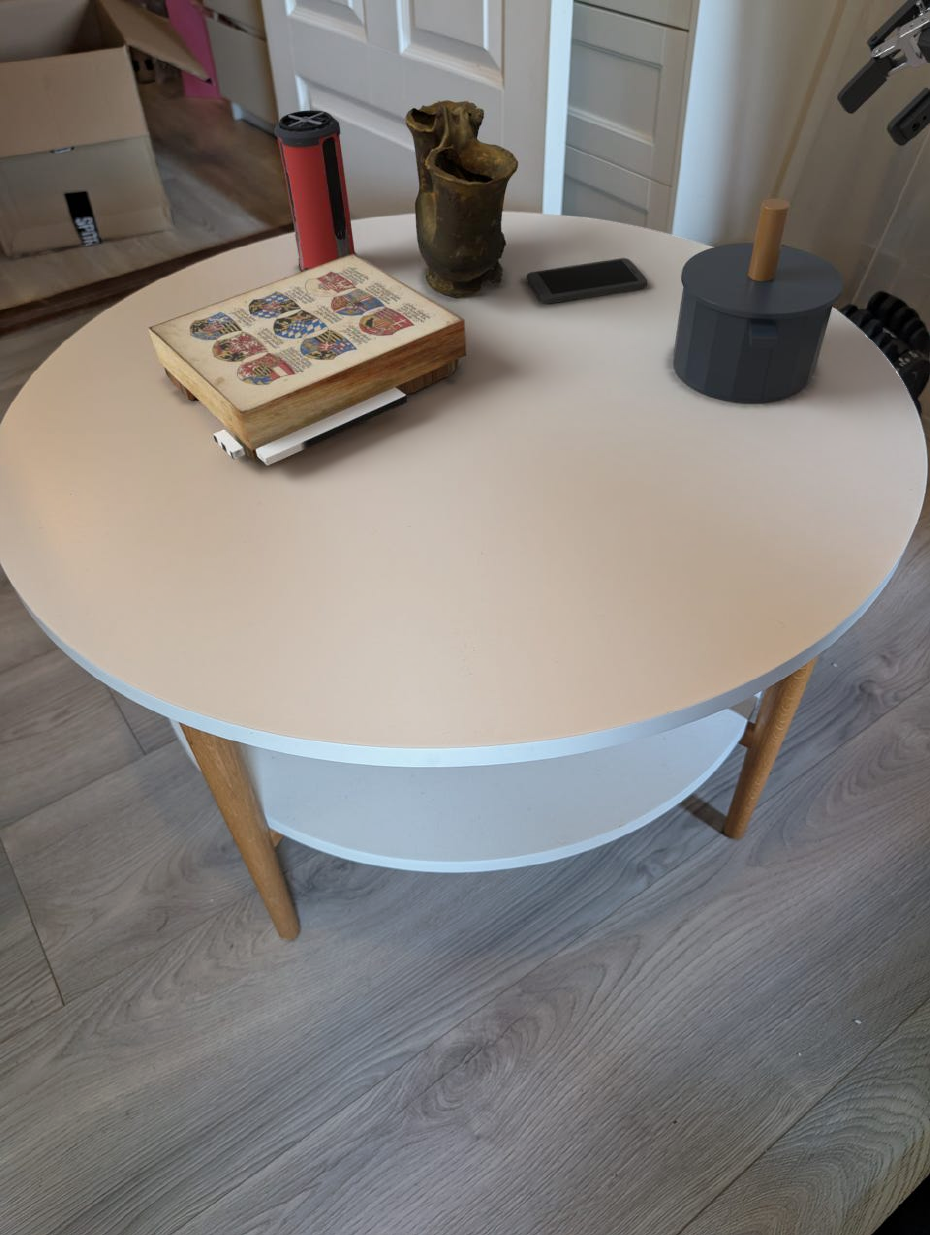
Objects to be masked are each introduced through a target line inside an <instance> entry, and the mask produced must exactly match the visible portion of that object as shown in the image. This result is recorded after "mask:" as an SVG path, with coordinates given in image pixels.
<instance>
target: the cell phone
mask: <svg viewBox="0 0 930 1235" xmlns="http://www.w3.org/2000/svg"><path fill="white" fill-rule="evenodd" d="M525 278H526V282H527V284H528V285H529V286H530V288H531V290H532V291H533V293H534V295H535V296H536V297H537V298H538V300H539V302H541V303H542V304H552V303H559V302H566V301H571V300H578V299H579V300H580V299H585V298H591V297H598V296H604V295H610V294H616V293H622V292H628V291H634V290H640V289H645V288H647V286H648V279H647V277H646V276H645V275H644V274H643V272H641V271H640V269H639V268H638V267H637V266H636V265H635V264H634V263H633V261H631V259H629V258H627V257H621V258H614V259H606V260H602V261H594V262H589V263H581V264H575V265H567V266H562V267H556V268H549V269H543V270H537V271H530V272H528V273H527V274H526V276H525Z"/></svg>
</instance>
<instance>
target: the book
mask: <svg viewBox="0 0 930 1235" xmlns="http://www.w3.org/2000/svg"><path fill="white" fill-rule="evenodd" d="M147 330H148V332H149V334H150V338H151V341H152V343H153V346H154V349H155V352H156V355H157V357H158V361H159V364H160V365H162V366H163V369H164V372H165V375H166V376H167V377H168V379H169V380H170V381H171V383H172V384H173V385H174V386H175V387H176V388H177V389H178V390H179V391H180V392H181V393H182V394H183V396H184V397H185V398H186V399H187V400H189V401H195V399H197V400H198V401H199V402H200V403H201V404H202V405H203V406H204V407H205V408H206V409H207V410H209V411H210V412H211V413H212V414H213V415H214V416H215V418H217V419H218V421H220V422H221V423H222V424H223V425H224V426H225V427H227V429H228V430H229V431H231V432H232V433H233V434H234V437H233V436H232V435H231V434H229V432H228V431H227V430H225V429H222V430H220V431H217V432H214V433H213V435H212V436H213V439H214V441H215V443H216V444H217V445H218V446H220V447H221V449H223V450H224V452H225V453H226V454H228V455H229V456H230V457H231V459H233V460H236V459H239V458H241V457H244V456H245V455H246V456H247V457H249V458H250V459H251V460H252V461H258V460H261V462H263V463H264V464H265V465H266V466H270V465H272V464H274V463H277V462H279V461H282V460H284V459H285V458H287V457H290V456H292V455H295V454H297V453H299V452H301V451H303V450H305V449H308V448H310V447H311V446H315V445H316V444H319V443H321V442H323V441H326V440H327V439H330V438H332V437H334V436H336V435H338V434H341V433H342V432H345V431H347V430H349V429H351V428H354V427H356V426H358V425H361V424H362V423H365V422H367V421H370V420H371V419H373V418H375V417H378V416H380V415H382V414H384V413H386V412H389V411H391V410H393V409H395V408H397V407H400V406H402V405H404V404H407V403H408V399H407V398H408V397H407V394H412V393H415V392H418V391H420V390H421V389H423V388H425V387H428V386H430V385H432V384H434V383H437V382H438V380H441V379H442V378H445V377H450V376H451V375H452V374H453V373H454V371H455V370H456V369H458V368H459V360H460V359H461V358H464V357H466V356H467V347H466V346H467V344H466V325H465V318H463V317H462V316H460V315H458V314H456V313H454V311H452V310H450V309H448V308H446V307H444V306H443V305H441V303H438V302H436V301H435V300H433V299H431V298H429V297H427V296H426V295H425V294H423V293H421V292H420V291H418V290H416V289H414V288H413V287H411V286H410V285H408V284H406V283H404V282H403V281H401V280H399V279H397V278H396V277H394V276H393V275H391V274H389V273H387V272H386V271H384V270H383V269H381V268H379V267H378V266H376V265H374V264H372V263H371V262H369V261H368V260H366V259H364V258H362V257H361V256H359V255H358V254H357V253H356V254H354V253H352V254H350V255H347V256H344V257H341V258H339V259H336V260H333V261H330V262H328V263H325V264H322V265H319V266H317V267H314V268H311V269H308V270H306V271H303V272H301V271H300V272H298V273H295V274H293V275H289V276H287V277H284V278H281V279H278V280H276V281H273V282H270V283H268V284H265V285H261V286H259V287H256V288H254V289H251V290H248V291H246V292H242V293H240V294H237V295H235V296H231V297H229V298H226V299H224V300H221V301H218V302H215V303H213V304H210V305H206V306H204V307H201V308H199V309H196V310H193V311H191V312H188V313H186V314H182V315H179V316H176V317H174V318H171V319H167V320H166V321H163V322H161V323H157V324H154V325H152V326H149V327H148V328H147Z"/></svg>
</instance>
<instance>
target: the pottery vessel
mask: <svg viewBox="0 0 930 1235" xmlns="http://www.w3.org/2000/svg"><path fill="white" fill-rule="evenodd" d="M484 118H485V110H484V109H483V108H480V107H478V106H477V105H476V104H475V103H474V102H470V101H468V100H464V101H452V100H438V101H437V102H434V103H433V104H429V105H424V104H423V105H422V106H420V108H418V109H417V108H416V107H413V108H411V109H410V110H408V111H407V113H406V115H405V117H404V121H405V126H406V127H407V129H408V130H409V132H410V134H411V137H412V141H413V145H414V153H415V154H414V155H415V162H416V170H417V178H418V193H417V196H416V199H415V202H414V212H415V230H416V231H415V232H416V241H417V246H418V249H419V252H420V255H421V257H422V259H423V261H424V263H425V264H426V265H427V268H426V269H425V280H426V282H427V284H428V286H429V287H430V288H431V289H432V290H434V291H435V292H439V293H440V294H441V295H446V296H449V297H453V298H456V297H458V298H461V296H462V295H463V294H465V293H479V292H480V291H481V290H482V286H483V284H484V283H485V282H487V281H489V282H490V283H491V285H493V284H495V283H496V284H501V282H502V277H503V266H502V264H501V262H500V261H499V260H500V259H502V258H503V254H504V252H505V251H504V250H505V247H506V246H507V240H506V238H505V234H504V232H503V231H502V220H503V218H502V217H503V211H504V209H503V208H504V203H505V195H506V191H507V187H508V184H509V181H510V180H511V178H512V177H513V175H514V174H515V173H516V172H517V170H518V168H519V160H518V159H517V157H516V156H515V155H514V153H513V152H512V151H510V150H508V149H506V148H504V147H502V146H500V145H497V144H490V143H485V142H482V141H480V140H478V136H479V130H480V128H481V126H482V124H483V120H484Z"/></svg>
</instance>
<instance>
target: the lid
mask: <svg viewBox="0 0 930 1235" xmlns="http://www.w3.org/2000/svg"><path fill="white" fill-rule="evenodd" d="M790 210H791V202H789V201H787V200H785V199H781V198H769V199H764V200H763V201H762V202H761V206H760V210H759V217H758V222H757V226H756V231H755V236H754V241H753V242H737V243H727V244H721V245H717V246H713V247H710V248H706V249H705V250H702V251H700V252H698V253H696V254H694V255H693V256H691V257H690V258H688V260H687V261H686V262H685V263H684V265H683V266H682V268H681V275H680V282H681V285H682V288H683V287H684V289H685V290H686V292H687V293H688V294H689V295H690V296H691V297H693V298H694V299H695V300H697V301H698V302H700V303H702V304H703V305H705V306H708V307H710V308H712V309H715V310H717V311H720V312H724V313H727V314H731V315H736V316H740V317H747V318H755V319H790V318H797V317H803V316H807V315H811V314H814V313H817V312H820V311H822V310H824V309H826V308H828V307H830V306H831V305H832V304H833V305H835V303H836V302H837V301H838V300H839V298H840V296H841V295H842V291H843V288H844V280H843V276H842V275H841V273H840V271H839V270H838V269H837V268H836V266H834V265H833V264H832V263H831V262H829V261H827V260H826V259H824V258H823V257H820V256H818V255H816V254H814V253H811V252H809V251H806V250H804V249H800V248H796V247H791V246H787V245H783V241H784V237H785V232H786V229H787V223H788V220H789V214H790Z"/></svg>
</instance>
